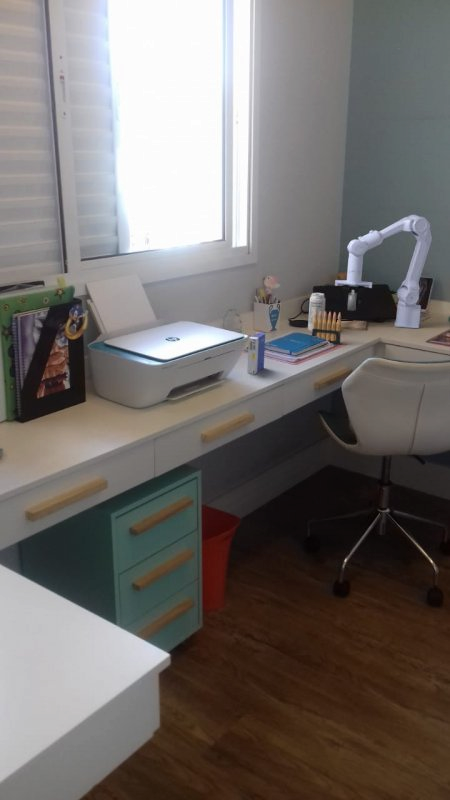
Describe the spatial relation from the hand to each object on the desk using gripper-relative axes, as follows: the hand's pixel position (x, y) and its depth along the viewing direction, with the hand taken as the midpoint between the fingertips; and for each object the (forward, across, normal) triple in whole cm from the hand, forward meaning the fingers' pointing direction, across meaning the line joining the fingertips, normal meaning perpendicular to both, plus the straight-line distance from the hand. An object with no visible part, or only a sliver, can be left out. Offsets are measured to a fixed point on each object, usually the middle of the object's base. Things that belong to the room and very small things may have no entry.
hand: (351, 304), depth 296 cm
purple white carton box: (+9, -28, -70) cm, 76 cm away
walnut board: (+9, 0, 0) cm, 9 cm away
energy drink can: (+9, -13, -14) cm, 21 cm away
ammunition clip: (+9, -8, -29) cm, 31 cm away
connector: (+2, 0, 0) cm, 2 cm away
